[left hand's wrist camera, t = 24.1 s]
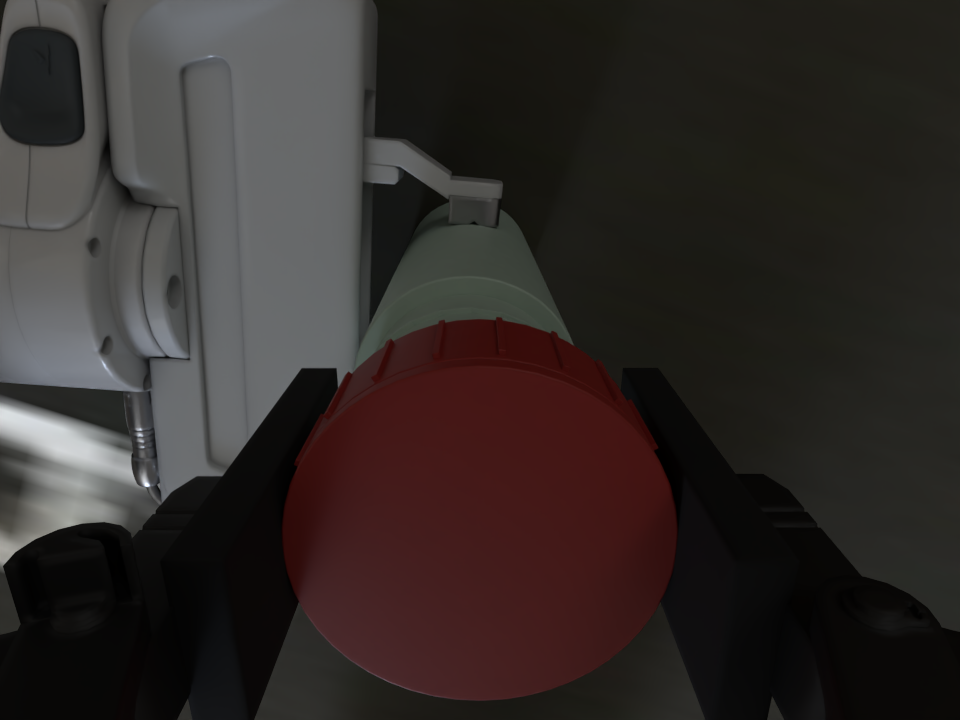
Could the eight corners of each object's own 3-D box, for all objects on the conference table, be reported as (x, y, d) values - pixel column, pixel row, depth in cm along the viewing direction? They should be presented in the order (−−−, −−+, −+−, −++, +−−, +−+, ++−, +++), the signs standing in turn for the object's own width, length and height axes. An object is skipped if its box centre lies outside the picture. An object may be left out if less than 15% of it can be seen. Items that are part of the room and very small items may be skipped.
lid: (584, 633, 14) (605, 733, 11) (289, 570, 13) (249, 662, 11) (694, 365, 12) (747, 422, 9) (349, 275, 11) (316, 313, 9)
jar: (497, 336, 31) (527, 566, 15) (389, 290, 30) (301, 484, 14) (548, 230, 29) (643, 364, 13) (435, 178, 28) (393, 255, 12)
